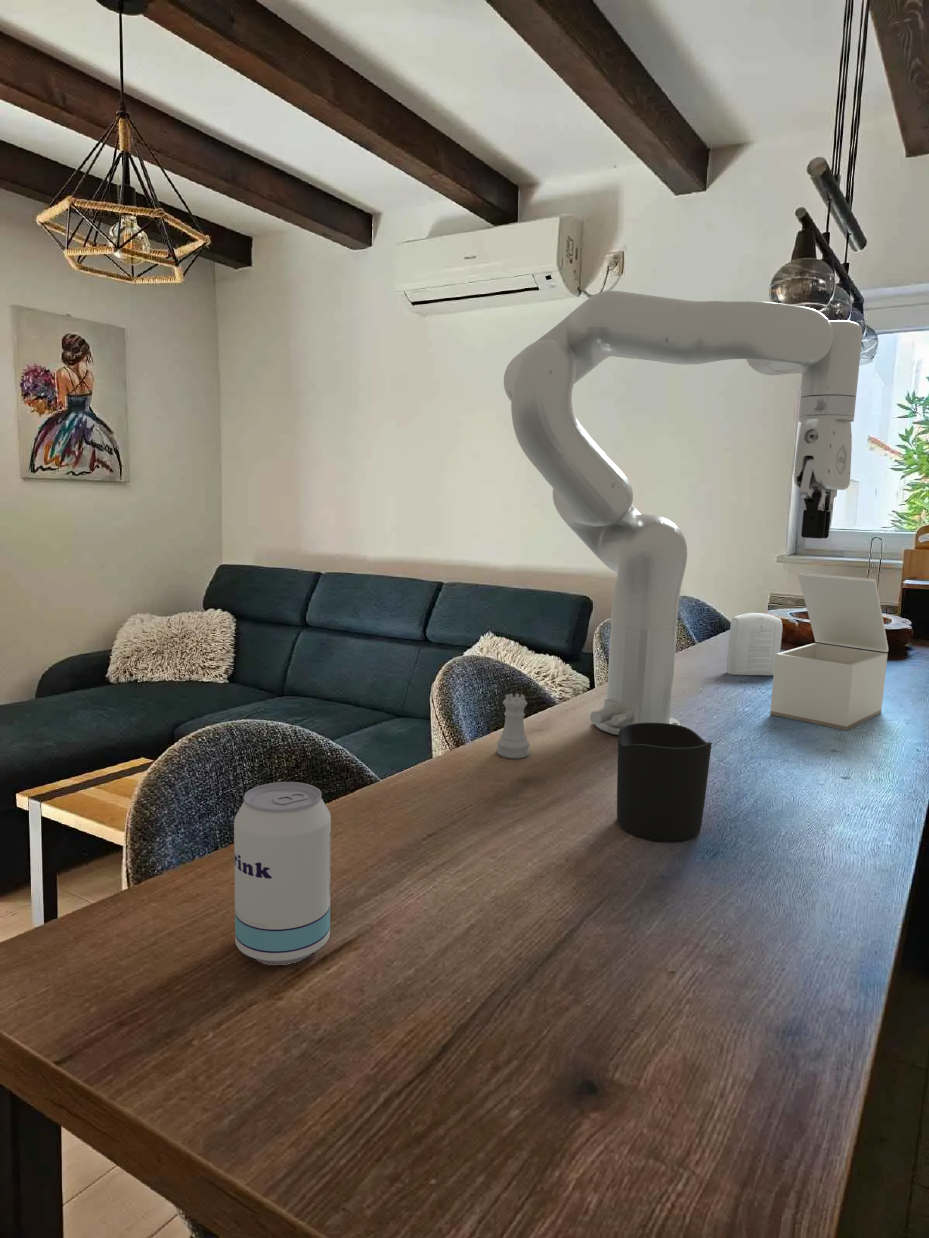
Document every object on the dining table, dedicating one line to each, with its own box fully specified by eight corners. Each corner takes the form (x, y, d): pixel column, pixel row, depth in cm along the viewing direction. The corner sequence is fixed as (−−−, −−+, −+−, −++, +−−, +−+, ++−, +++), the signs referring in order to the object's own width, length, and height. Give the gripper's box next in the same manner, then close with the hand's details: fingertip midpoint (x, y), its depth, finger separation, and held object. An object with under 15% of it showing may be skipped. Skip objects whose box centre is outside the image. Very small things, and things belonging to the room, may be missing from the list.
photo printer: (770, 672, 170) (776, 611, 168) (781, 676, 165) (787, 615, 164) (722, 672, 168) (727, 611, 166) (732, 676, 164) (737, 614, 162)
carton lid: (874, 581, 129) (875, 579, 129) (798, 574, 137) (799, 572, 137) (887, 652, 138) (888, 649, 138) (815, 641, 146) (816, 639, 146)
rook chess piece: (490, 756, 110) (492, 696, 109) (504, 747, 114) (507, 690, 113) (521, 762, 108) (524, 701, 107) (535, 753, 112) (537, 694, 111)
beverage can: (218, 945, 63) (215, 792, 61) (296, 915, 68) (296, 772, 66) (267, 986, 58) (266, 821, 56) (348, 950, 63) (349, 797, 61)
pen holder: (714, 822, 90) (721, 732, 88) (690, 853, 82) (697, 754, 80) (630, 803, 95) (636, 717, 93) (599, 831, 87) (605, 737, 85)
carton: (846, 730, 128) (853, 666, 126) (770, 714, 136) (775, 653, 134) (881, 712, 139) (887, 653, 138) (808, 698, 147) (814, 643, 146)
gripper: (833, 405, 114) (820, 540, 117) (871, 414, 125) (858, 538, 128) (779, 407, 119) (768, 537, 122) (820, 416, 130) (809, 535, 133)
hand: (814, 537), depth 125 cm, fingers closed
